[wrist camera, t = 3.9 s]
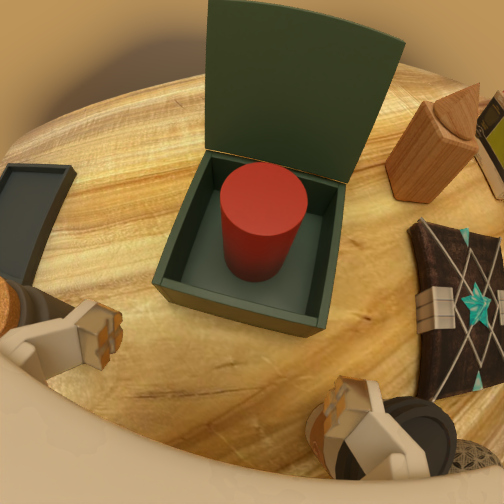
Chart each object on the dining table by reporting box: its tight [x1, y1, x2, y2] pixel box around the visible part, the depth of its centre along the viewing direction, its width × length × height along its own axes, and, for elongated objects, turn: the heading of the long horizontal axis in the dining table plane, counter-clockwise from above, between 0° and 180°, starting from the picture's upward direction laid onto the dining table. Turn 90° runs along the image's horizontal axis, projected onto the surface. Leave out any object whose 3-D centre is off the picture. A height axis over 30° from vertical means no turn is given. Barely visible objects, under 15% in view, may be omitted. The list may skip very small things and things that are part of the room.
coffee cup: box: [305, 396, 457, 480], centre depth 18 cm, size 8×8×15 cm
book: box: [407, 217, 504, 403], centre depth 28 cm, size 22×17×5 cm
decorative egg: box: [448, 439, 504, 474], centre depth 16 cm, size 12×12×15 cm
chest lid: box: [205, 0, 406, 183], centre depth 23 cm, size 15×15×5 cm
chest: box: [152, 150, 346, 338], centre depth 29 cm, size 15×15×7 cm
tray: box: [0, 163, 76, 286], centre depth 31 cm, size 17×15×2 cm
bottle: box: [0, 276, 86, 364], centre depth 20 cm, size 6×6×15 cm
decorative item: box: [385, 83, 480, 203], centre depth 28 cm, size 7×7×20 cm
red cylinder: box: [220, 162, 308, 282], centre depth 26 cm, size 6×6×11 cm
